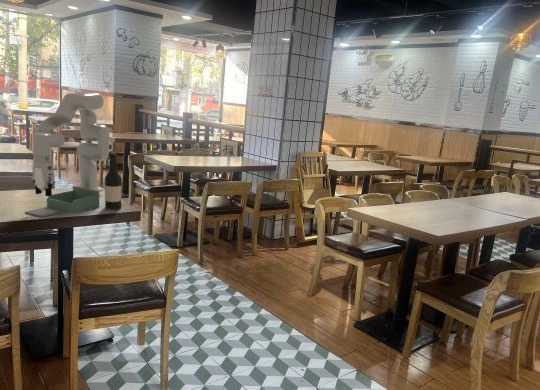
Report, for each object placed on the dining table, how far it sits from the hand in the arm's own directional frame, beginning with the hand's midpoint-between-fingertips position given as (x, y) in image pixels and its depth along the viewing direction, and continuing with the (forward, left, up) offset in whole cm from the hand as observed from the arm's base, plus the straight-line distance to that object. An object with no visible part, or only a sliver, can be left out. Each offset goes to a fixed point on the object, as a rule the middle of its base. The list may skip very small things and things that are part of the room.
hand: (43, 194), depth 217 cm
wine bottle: (-28, +18, -10) cm, 35 cm away
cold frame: (-16, +2, -9) cm, 19 cm away
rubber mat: (0, 0, -9) cm, 9 cm away
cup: (0, 0, -7) cm, 7 cm away
